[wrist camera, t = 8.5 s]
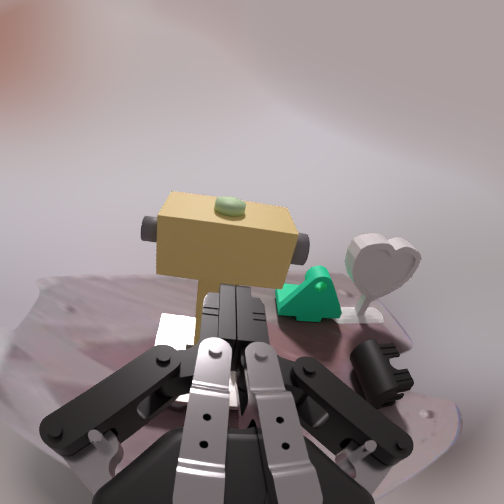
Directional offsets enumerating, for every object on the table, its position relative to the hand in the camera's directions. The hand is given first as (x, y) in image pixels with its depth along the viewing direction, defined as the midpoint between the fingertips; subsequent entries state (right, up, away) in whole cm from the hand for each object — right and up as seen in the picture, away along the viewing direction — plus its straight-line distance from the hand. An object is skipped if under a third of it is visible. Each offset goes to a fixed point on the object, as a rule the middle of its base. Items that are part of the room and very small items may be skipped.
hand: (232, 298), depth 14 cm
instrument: (-5, -10, +21) cm, 24 cm away
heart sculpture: (+23, -11, +41) cm, 48 cm away
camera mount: (+11, -9, +40) cm, 43 cm away
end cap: (+20, -20, +25) cm, 38 cm away
